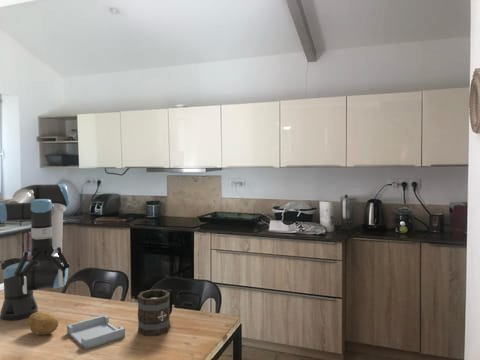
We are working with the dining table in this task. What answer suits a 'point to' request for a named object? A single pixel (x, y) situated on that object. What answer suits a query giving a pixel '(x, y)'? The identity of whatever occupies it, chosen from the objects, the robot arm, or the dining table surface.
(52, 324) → the potato
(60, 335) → the dining table surface
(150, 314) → the mug
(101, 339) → the light blue shallow tray
